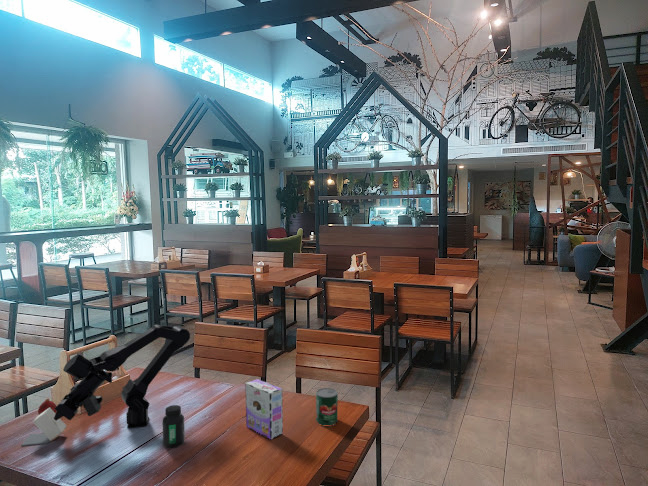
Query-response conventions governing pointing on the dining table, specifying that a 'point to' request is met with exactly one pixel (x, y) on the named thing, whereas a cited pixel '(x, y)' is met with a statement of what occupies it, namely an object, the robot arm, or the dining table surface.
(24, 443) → the mat
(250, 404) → the candy box
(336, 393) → the canned tomato
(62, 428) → the block
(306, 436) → the dining table surface
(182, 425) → the supplement bottle
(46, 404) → the onion
